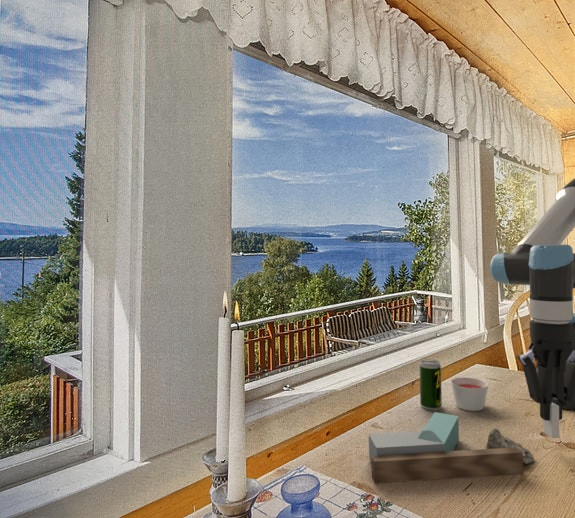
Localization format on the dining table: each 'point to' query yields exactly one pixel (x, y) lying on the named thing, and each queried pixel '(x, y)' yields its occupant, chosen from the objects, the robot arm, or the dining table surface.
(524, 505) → the dining table surface
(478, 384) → the white cup
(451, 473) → the walnut wall
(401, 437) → the grey teal angled block
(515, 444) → the rock sample
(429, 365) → the beer can
